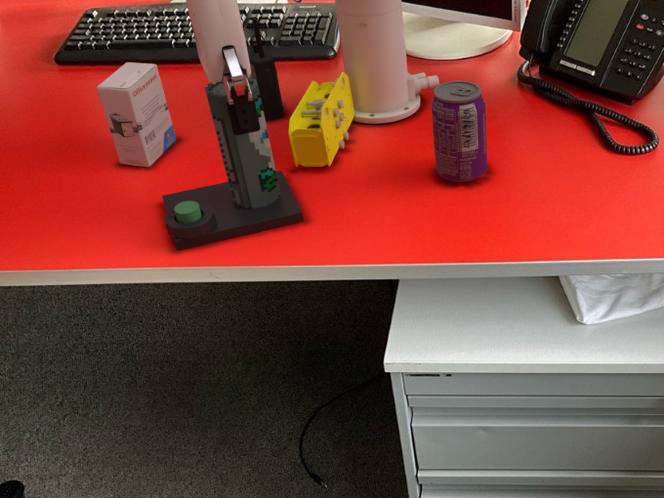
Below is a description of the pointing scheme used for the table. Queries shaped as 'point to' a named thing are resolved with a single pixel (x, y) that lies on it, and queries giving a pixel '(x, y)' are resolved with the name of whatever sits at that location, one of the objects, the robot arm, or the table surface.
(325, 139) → the yellow toy chassis
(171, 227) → the scale
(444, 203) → the table surface
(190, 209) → the button
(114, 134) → the ink box
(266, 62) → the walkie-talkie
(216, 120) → the can
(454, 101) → the beverage can
